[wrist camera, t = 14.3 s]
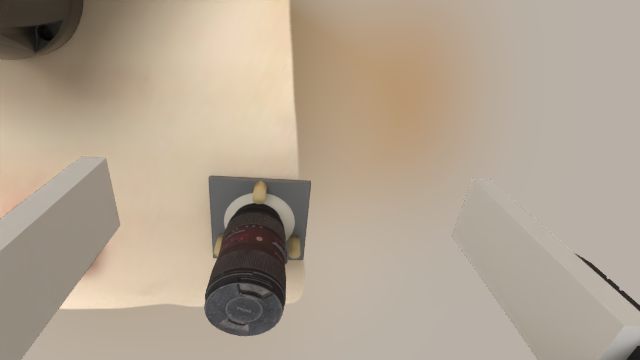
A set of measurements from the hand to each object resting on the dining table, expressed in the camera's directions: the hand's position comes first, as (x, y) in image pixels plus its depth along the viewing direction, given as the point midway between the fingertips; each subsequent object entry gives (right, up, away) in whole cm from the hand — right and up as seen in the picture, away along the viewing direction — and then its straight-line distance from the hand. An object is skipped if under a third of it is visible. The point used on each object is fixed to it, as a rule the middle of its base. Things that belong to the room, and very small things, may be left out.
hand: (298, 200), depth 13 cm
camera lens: (-8, -5, +34) cm, 35 cm away
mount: (-8, -5, +35) cm, 36 cm away
